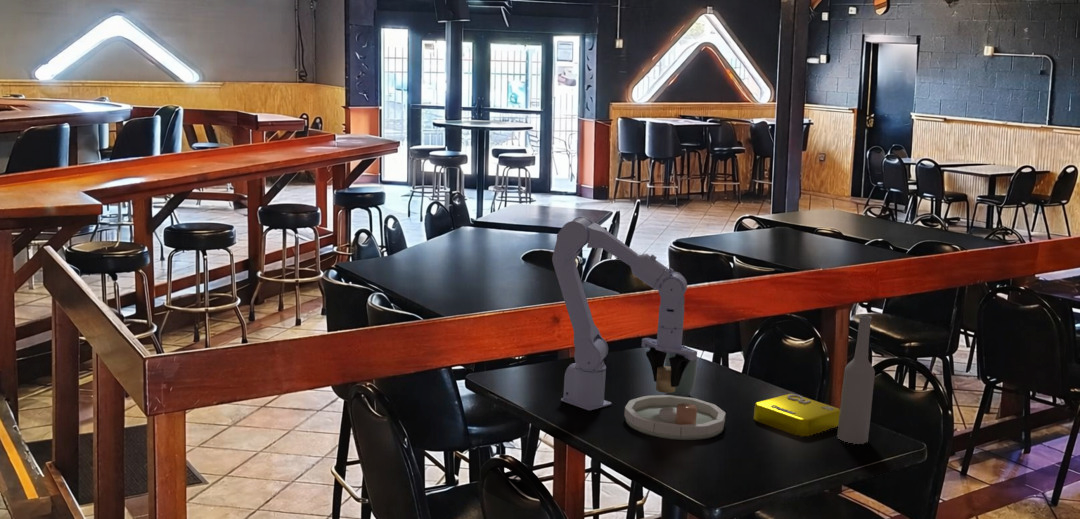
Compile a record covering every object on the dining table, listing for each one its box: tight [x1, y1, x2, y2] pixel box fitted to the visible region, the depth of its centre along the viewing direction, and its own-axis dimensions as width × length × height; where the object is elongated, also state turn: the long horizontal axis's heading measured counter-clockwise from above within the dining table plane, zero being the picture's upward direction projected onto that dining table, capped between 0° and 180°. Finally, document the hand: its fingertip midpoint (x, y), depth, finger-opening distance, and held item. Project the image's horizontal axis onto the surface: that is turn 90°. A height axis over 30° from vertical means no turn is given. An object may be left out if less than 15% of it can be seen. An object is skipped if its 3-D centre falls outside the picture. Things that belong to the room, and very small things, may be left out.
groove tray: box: [623, 394, 726, 441], centre depth 236 cm, size 22×22×3 cm
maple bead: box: [655, 365, 675, 394], centre depth 241 cm, size 4×4×5 cm
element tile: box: [753, 393, 840, 437], centre depth 241 cm, size 15×15×5 cm
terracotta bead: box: [676, 403, 697, 425], centre depth 230 cm, size 4×4×5 cm
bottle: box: [836, 314, 876, 445], centre depth 229 cm, size 7×7×28 cm
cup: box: [664, 353, 698, 397], centre depth 257 cm, size 8×8×10 cm
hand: (666, 383), depth 241 cm, fingers closed on maple bead, 4 cm apart
